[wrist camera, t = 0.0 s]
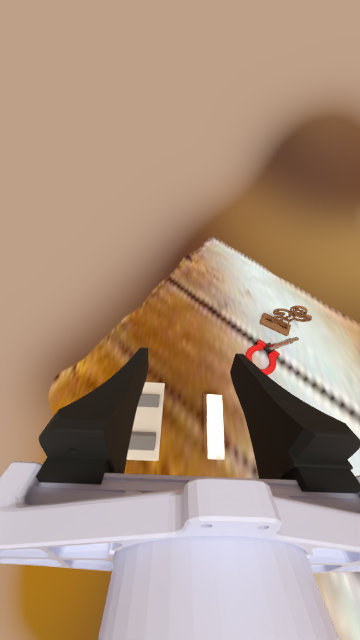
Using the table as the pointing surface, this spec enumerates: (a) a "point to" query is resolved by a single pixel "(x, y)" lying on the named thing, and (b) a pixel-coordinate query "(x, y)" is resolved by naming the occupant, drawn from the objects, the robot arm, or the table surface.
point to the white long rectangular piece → (213, 426)
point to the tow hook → (271, 350)
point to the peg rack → (147, 424)
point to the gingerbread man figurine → (279, 324)
